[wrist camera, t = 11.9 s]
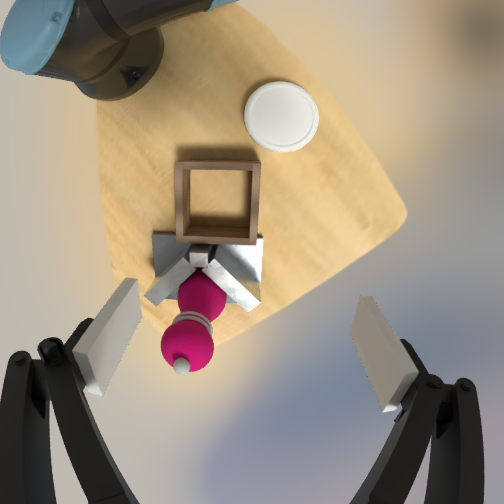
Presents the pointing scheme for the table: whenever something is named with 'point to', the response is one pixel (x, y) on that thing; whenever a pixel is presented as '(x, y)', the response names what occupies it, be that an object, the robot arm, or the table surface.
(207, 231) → the wooden square frame
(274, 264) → the table surface
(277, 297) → the table surface
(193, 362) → the pepper mill
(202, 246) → the v block
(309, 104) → the coaster
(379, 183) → the table surface
